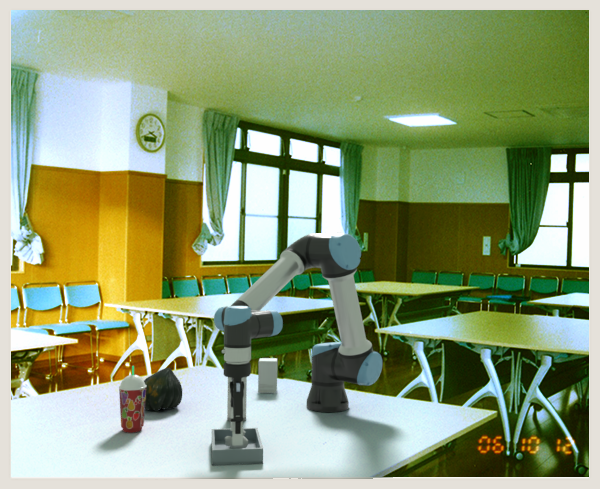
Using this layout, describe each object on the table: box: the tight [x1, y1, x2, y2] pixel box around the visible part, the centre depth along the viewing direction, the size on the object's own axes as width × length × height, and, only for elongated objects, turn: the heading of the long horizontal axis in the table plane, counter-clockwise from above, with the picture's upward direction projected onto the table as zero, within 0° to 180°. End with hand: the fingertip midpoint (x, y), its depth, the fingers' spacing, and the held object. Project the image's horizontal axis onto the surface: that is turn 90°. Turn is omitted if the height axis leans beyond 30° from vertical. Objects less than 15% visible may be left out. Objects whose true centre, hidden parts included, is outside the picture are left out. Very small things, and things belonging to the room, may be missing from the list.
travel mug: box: [226, 377, 248, 422], centre depth 215 cm, size 6×7×20 cm
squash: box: [143, 367, 183, 412], centre depth 228 cm, size 14×15×15 cm
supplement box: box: [257, 357, 278, 394], centre depth 256 cm, size 7×7×13 cm
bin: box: [211, 427, 264, 466], centre depth 181 cm, size 13×19×4 cm
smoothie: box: [118, 365, 147, 434], centre depth 201 cm, size 8×8×20 cm
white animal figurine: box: [225, 430, 248, 449], centre depth 181 cm, size 5×7×8 cm
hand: (236, 437), depth 181 cm, fingers open, 13 cm apart
